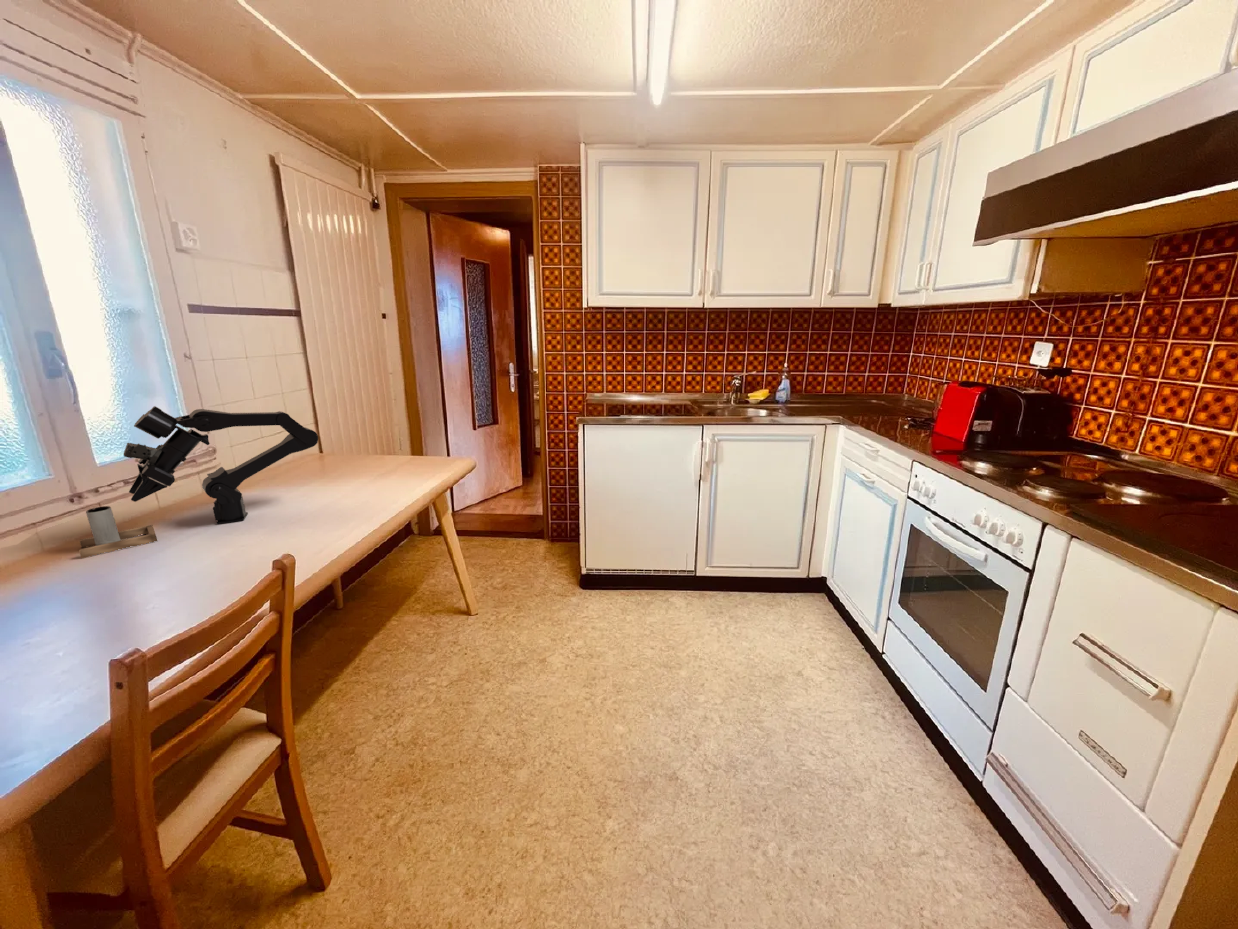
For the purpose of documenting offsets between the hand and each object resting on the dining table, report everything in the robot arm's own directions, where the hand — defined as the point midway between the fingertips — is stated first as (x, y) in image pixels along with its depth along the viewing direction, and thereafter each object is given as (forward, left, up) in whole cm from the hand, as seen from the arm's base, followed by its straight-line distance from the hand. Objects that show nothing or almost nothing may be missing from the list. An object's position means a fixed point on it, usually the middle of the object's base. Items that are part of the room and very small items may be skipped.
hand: (131, 496), depth 131 cm
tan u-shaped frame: (+4, +2, -12) cm, 13 cm away
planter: (+6, +2, -12) cm, 14 cm away
